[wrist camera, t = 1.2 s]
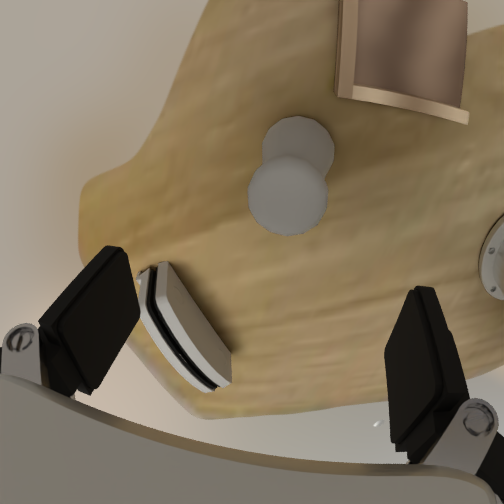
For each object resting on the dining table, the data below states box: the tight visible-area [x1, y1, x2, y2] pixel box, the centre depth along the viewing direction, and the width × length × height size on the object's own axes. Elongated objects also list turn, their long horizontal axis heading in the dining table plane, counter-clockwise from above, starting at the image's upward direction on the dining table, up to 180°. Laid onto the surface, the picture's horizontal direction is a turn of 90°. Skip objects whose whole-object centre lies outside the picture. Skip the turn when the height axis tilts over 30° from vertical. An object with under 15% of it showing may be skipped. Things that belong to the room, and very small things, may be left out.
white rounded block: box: [136, 261, 232, 393], centre depth 37 cm, size 17×5×10 cm, turn 25°
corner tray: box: [334, 0, 469, 125], centre depth 18 cm, size 11×11×5 cm
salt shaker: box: [248, 116, 335, 236], centre depth 21 cm, size 6×6×13 cm
